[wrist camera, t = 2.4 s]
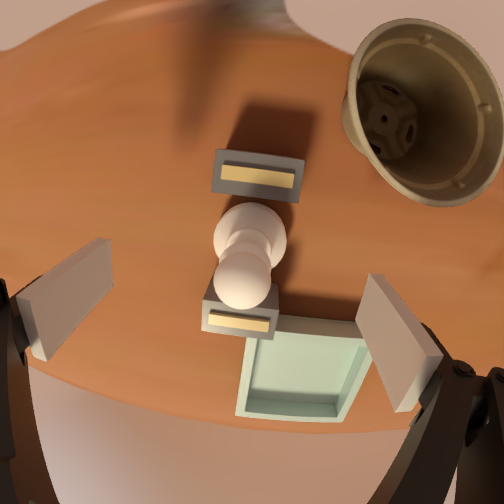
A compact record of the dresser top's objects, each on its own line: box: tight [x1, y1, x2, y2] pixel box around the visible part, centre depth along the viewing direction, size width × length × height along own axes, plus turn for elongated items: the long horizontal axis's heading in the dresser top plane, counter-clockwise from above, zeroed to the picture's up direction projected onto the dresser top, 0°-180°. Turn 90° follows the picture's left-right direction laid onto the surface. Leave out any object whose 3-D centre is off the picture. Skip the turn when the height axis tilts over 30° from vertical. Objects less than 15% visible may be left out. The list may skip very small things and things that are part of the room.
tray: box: [235, 314, 373, 422], centre depth 25 cm, size 11×11×2 cm
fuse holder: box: [201, 149, 305, 340], centre depth 20 cm, size 5×12×4 cm, turn 173°
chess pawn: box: [213, 202, 287, 310], centre depth 18 cm, size 5×5×9 cm
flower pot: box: [342, 18, 504, 207], centre depth 14 cm, size 9×9×9 cm
